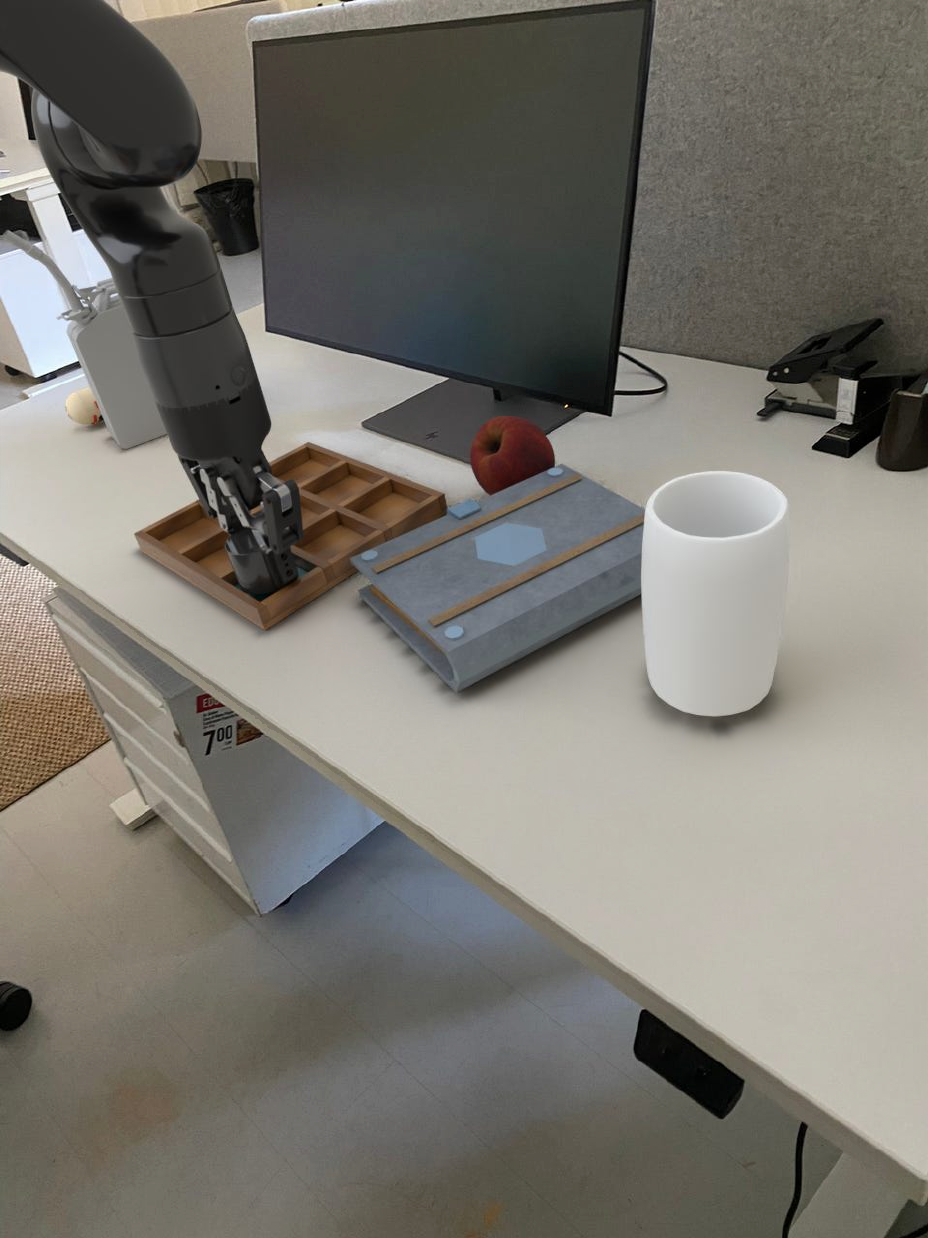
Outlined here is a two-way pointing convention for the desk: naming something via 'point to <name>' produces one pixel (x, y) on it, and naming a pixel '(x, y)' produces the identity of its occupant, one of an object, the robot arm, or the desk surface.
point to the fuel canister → (106, 355)
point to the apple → (509, 453)
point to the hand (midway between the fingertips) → (269, 572)
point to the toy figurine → (83, 407)
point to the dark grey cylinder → (248, 562)
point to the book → (507, 573)
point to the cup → (714, 590)
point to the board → (332, 526)
